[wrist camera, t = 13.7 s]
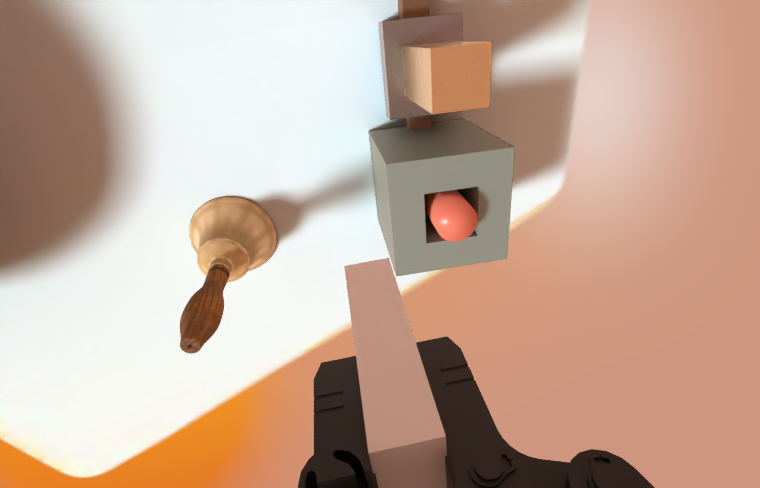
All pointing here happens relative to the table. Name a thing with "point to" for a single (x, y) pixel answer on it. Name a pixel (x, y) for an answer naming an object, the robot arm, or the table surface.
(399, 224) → the grey hole block
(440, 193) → the red rounded peg
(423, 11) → the rail
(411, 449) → the robot arm
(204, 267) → the hand bell
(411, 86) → the block
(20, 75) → the table surface
